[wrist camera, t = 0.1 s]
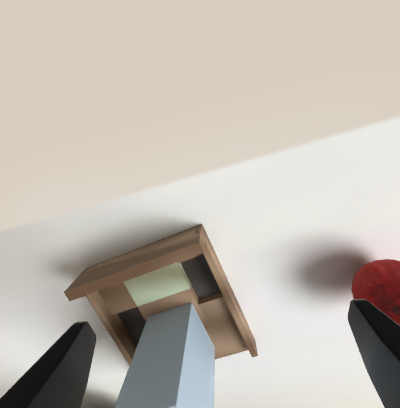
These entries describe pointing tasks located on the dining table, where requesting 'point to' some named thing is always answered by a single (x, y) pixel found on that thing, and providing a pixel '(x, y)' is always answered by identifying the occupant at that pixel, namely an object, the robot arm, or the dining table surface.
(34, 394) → the robot arm
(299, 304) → the dining table surface
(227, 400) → the dining table surface
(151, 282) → the box
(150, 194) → the dining table surface
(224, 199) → the dining table surface
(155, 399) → the blue block
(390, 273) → the onion
